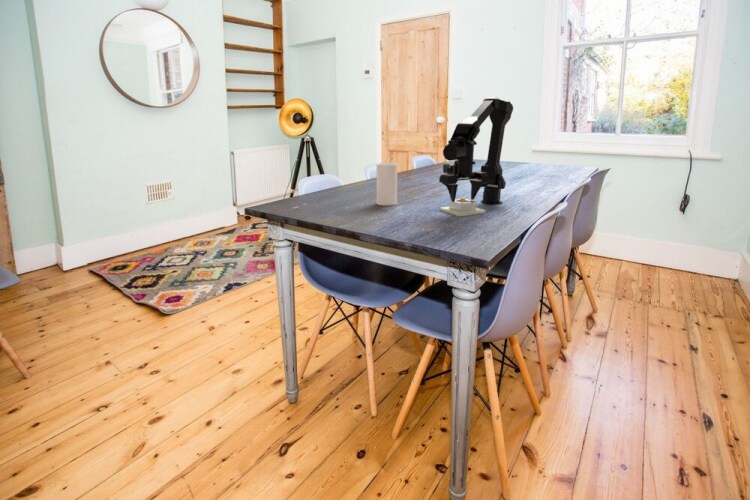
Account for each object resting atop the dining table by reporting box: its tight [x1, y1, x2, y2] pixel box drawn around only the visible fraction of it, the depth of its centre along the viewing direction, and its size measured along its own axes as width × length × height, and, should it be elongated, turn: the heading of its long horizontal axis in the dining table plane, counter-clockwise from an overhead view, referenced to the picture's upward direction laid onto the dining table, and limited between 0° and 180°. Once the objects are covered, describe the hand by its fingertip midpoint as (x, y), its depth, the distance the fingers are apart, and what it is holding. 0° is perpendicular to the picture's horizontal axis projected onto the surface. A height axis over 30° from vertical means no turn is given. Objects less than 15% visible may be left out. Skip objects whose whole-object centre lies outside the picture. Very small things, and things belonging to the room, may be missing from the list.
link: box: [448, 198, 477, 212], centre depth 171 cm, size 7×7×3 cm
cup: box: [376, 162, 398, 206], centre depth 184 cm, size 8×8×16 cm
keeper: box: [439, 197, 486, 218], centre depth 171 cm, size 12×12×5 cm
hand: (462, 200), depth 170 cm, fingers open, 9 cm apart
